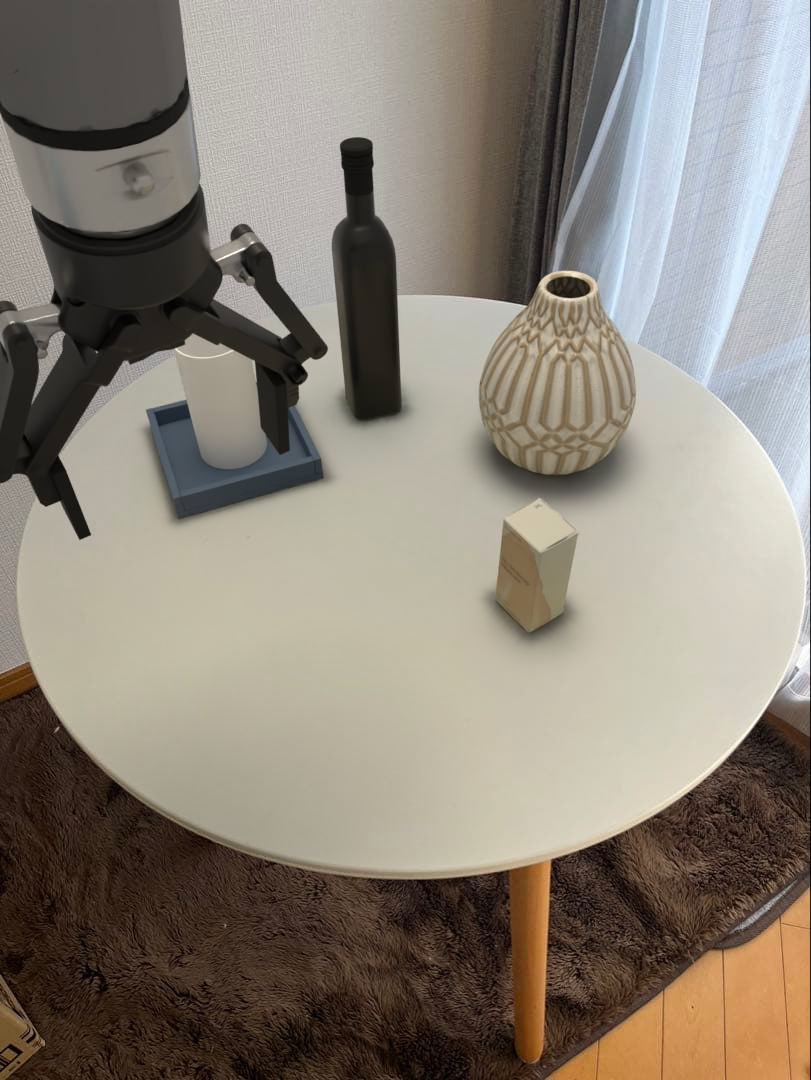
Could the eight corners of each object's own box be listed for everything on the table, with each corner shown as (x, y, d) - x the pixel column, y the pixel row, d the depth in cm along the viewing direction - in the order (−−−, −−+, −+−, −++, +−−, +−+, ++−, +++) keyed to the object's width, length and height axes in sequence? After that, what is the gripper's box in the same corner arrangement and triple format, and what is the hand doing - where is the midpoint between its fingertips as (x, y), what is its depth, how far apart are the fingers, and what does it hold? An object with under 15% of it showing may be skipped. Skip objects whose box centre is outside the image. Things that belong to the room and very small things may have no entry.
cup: (260, 470, 95) (239, 358, 85) (193, 468, 96) (163, 358, 86) (272, 426, 100) (252, 316, 90) (208, 425, 101) (181, 315, 91)
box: (493, 599, 83) (499, 515, 75) (529, 578, 85) (539, 494, 77) (530, 636, 80) (540, 552, 72) (566, 614, 82) (580, 529, 74)
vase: (558, 386, 105) (577, 226, 91) (655, 460, 96) (694, 294, 81) (447, 437, 100) (448, 274, 85) (539, 521, 90) (558, 354, 76)
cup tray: (178, 518, 92) (172, 498, 90) (151, 428, 102) (145, 409, 100) (323, 478, 96) (321, 458, 93) (283, 395, 106) (280, 375, 104)
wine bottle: (389, 384, 106) (376, 126, 85) (404, 413, 103) (395, 150, 81) (343, 395, 105) (318, 135, 84) (356, 424, 102) (334, 160, 80)
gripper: (-161, 337, 34) (5, 608, 51) (399, 161, 42) (377, 445, 60) (-209, 221, 37) (-37, 514, 55) (321, 80, 46) (322, 372, 63)
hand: (180, 479), depth 57 cm, fingers open, 13 cm apart
